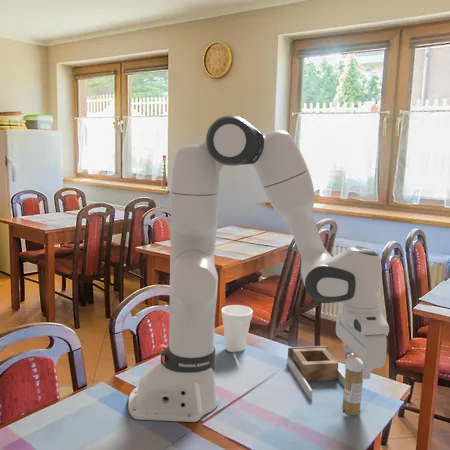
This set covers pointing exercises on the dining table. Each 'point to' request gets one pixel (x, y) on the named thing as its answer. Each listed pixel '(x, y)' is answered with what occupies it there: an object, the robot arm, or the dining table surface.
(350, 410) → the sprinkles bottle
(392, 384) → the dining table surface
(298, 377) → the bay
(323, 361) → the crate
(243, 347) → the cup
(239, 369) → the dining table surface
